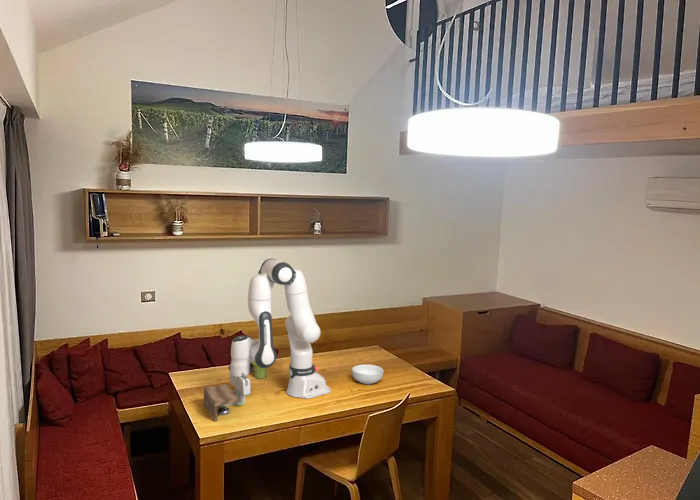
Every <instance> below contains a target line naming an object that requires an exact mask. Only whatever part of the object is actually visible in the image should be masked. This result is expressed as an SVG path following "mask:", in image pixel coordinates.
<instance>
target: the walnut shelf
mask: <svg viewBox="0 0 700 500" xmlns="http://www.w3.org/2000/svg"><path fill="white" fill-rule="evenodd" d="M237 402H240V398H239V397H238V396H237V394H236V393H235V392H234V390H233V388H232V387H231V386H229V384H227V383H225V384H220V385H211V386H206V387H203V407H204V409H205V410H206V411H207V413H208V415H210V417H211V418H212V421H214V422H218V408H219V407H218V406H220V405H226V404H232V403H237ZM217 407H218V408H217Z"/></svg>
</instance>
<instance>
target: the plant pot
mask: <svg viewBox="0 0 700 500" xmlns="http://www.w3.org/2000/svg"><path fill="white" fill-rule="evenodd" d="M252 364H253V368H254V371H253V374H254V378H255V379H260V380H262V379H266V378H267V372H268V368H260V367H259V366H258V365H257V364H256V363H255V362H254V361H252Z"/></svg>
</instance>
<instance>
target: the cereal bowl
mask: <svg viewBox="0 0 700 500" xmlns="http://www.w3.org/2000/svg"><path fill="white" fill-rule="evenodd" d="M351 373H352V378H353V379H355V380H356V381H357V382H359V383H361V384H363V385H373V384H374V383H378V382H380V381H381V380H382V378H383V377H384V369H383V368H382V367H381V366H379V365H374V364H358V365H355V366H353V367H352V368H351Z"/></svg>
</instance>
